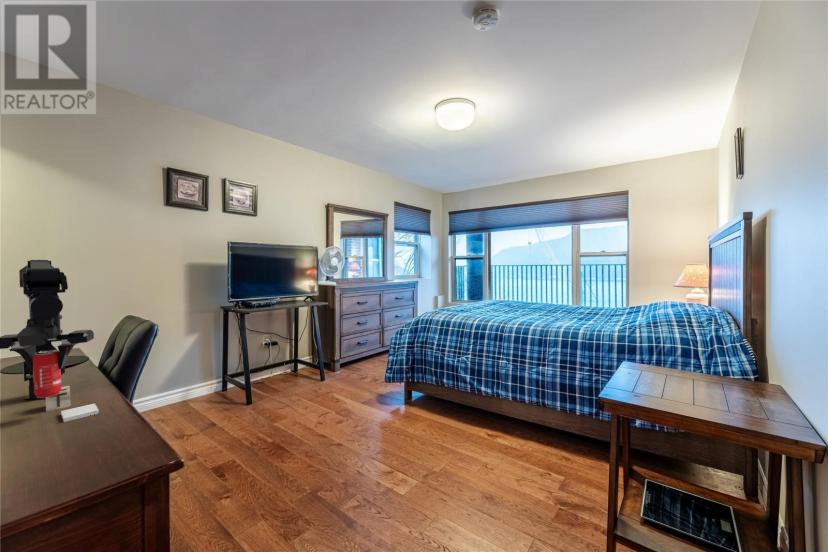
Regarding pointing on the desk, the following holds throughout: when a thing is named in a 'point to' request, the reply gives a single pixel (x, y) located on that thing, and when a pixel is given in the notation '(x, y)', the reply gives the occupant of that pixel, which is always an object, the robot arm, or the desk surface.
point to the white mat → (79, 412)
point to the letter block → (59, 399)
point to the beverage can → (46, 373)
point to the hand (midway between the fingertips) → (47, 369)
